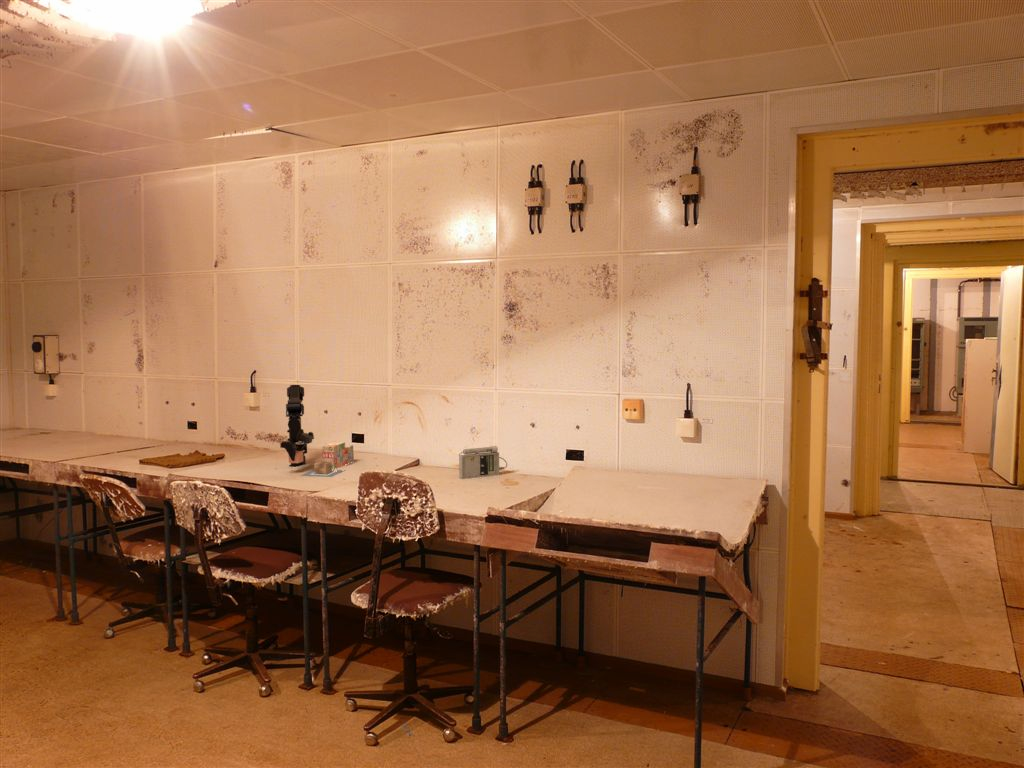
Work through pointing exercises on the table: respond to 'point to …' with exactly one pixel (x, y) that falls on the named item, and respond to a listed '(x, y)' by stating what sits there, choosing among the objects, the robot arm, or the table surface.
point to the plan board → (333, 473)
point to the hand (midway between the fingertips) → (296, 459)
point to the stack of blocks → (338, 454)
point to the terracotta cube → (297, 457)
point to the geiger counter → (479, 462)
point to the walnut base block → (323, 467)
